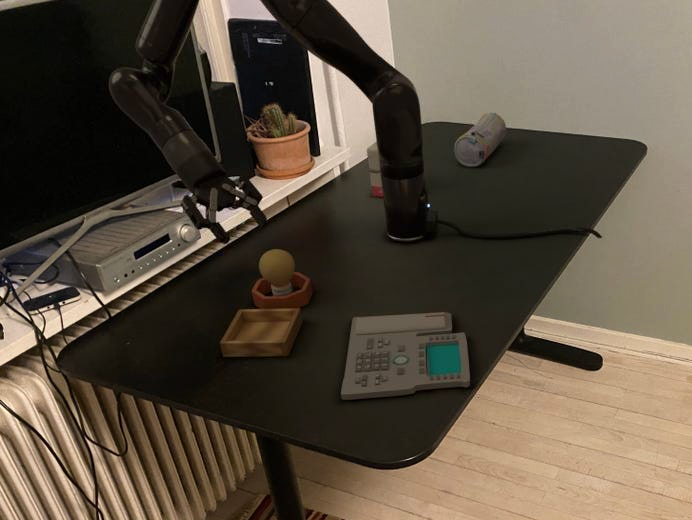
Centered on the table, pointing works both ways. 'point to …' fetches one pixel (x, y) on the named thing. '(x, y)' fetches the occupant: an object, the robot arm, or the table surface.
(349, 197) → the table surface
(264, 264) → the light bulb
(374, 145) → the ink box
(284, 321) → the tray
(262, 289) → the orange octagonal ring
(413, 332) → the office telephone
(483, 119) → the pencil case
